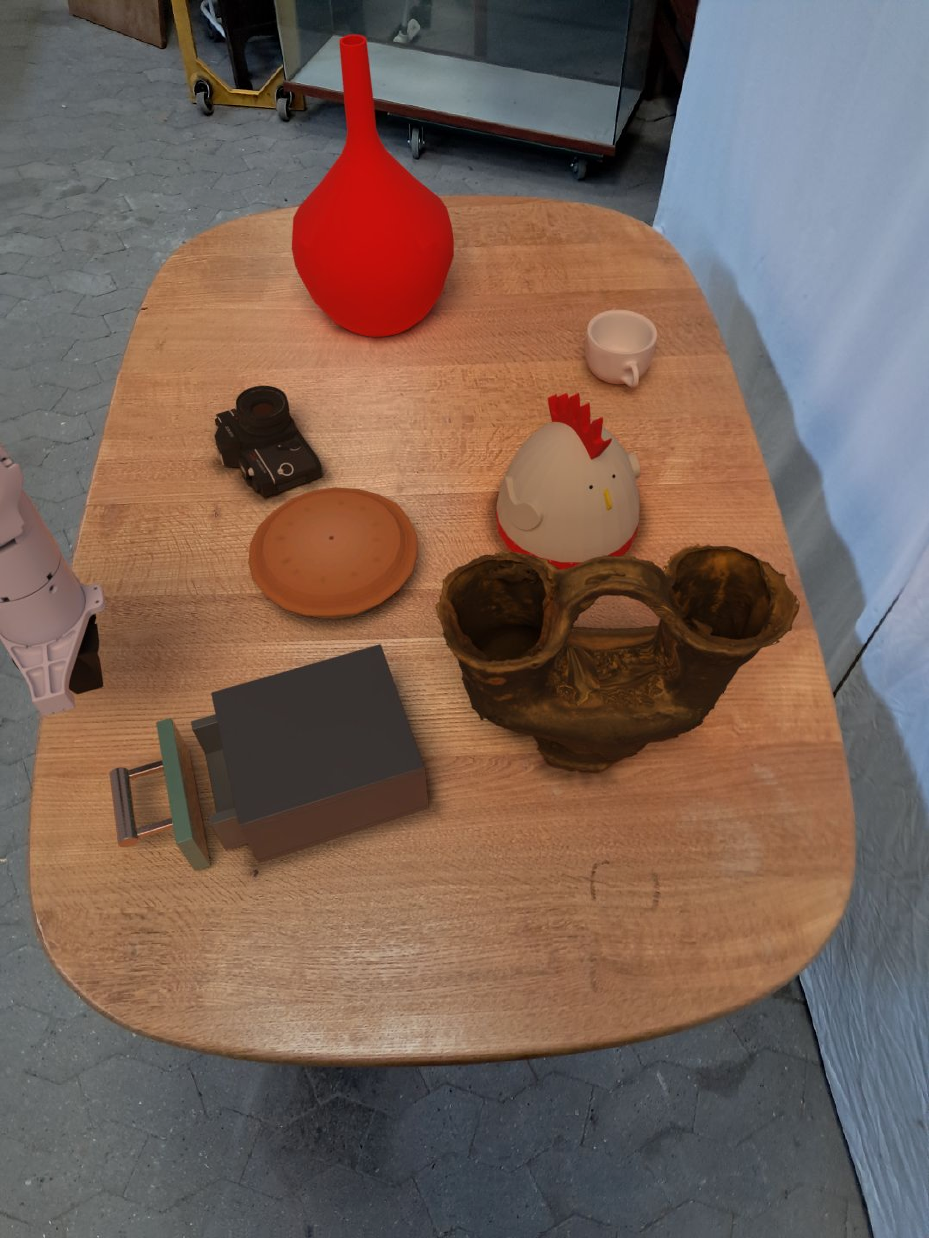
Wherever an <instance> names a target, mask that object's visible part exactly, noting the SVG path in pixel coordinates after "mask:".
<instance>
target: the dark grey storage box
mask: <svg viewBox="0 0 929 1238" xmlns="http://www.w3.org/2000/svg"><path fill="white" fill-rule="evenodd" d="M210 695H211V700H212V705H213V709H214V714H216V719H217V724H218V729H219V734H220V738H221V743H222V748H223V753H224V757H225V762H226V767H227V772H228V776H229V781H230V786H231V791H232V795H233V800H234V805H235V810H236V814H237V819H238V824H239V827H240V829H241V831H242V833H243V835H244V837H245V838H246V840H247V842H248V844H247V845H248V846H249V848H250V850H251V852H252V854H253V856H254V858H255V859H256V862H257V863H258V864H262V863H266V862H268V861H271V860H275V859H278V858H281V857H284V856H287V855H290V854H293V853H296V852H299V851H303V850H306V849H309V848H313V847H314V846H319V845H321V844H324V843H327V842H330V841H333V840H336V839H339V838H342V837H346V836H348V835H349V836H350V835H351V834H356V833H359V832H361V831H364V830H367V829H370V828H373V827H377V826H380V825H382V824H383V825H384V824H386V823H389V822H392V821H395V820H398V819H402V818H405V817H408V816H410V815H413V814H416V813H420V812H422V811H426V810H429V808H430V806H429V797H428V787H427V778H426V777H427V776H426V767H425V764H424V761H423V758H422V756H421V753H420V750H419V748H418V744H417V741H416V739H415V736H414V733H413V731H412V728H411V725H410V722H409V720H408V719H409V718H408V717H407V714H406V711H405V708H404V706H403V703H402V699H401V697H400V694H399V691H398V689H397V686H396V683H395V681H394V677H393V674H392V672H391V669H390V666H389V663H388V660H387V658H386V655H385V652H384V648H383V647H382V644H381V643H378V644H375V645H373V646H369V647H365V648H362V649H358V650H355V651H352V652H348V653H344V654H341V655H337V656H334V657H331V658H330V657H329V658H327V659H324V660H323V659H322V660H320V661H316V662H313V663H309V664H306V665H302V666H298V667H295V668H293V669H289V670H285V671H281V672H277V673H275V674H271V675H267V676H264V677H261V678H257V679H254V680H249V681H246V682H244V683H240V684H235V685H233V686H232V685H231V686H229V687H226V688H225V687H224V688H223V689H219V690H214V691H212V692H211V693H210Z"/></svg>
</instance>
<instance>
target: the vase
mask: <svg viewBox="0 0 929 1238" xmlns="http://www.w3.org/2000/svg"><path fill="white" fill-rule="evenodd" d="M338 44H339V45H338V46H339V55H340V68H341V69H340V70H341V76H342V77H341V79H342V91H343V103H344V113H345V121H346V130H347V132H346V137H345V142H344V143H345V144H344V146H343V149H342V151H341V154H340V155H339V156H338V157H337V159H336V160H335V162H334V163H333V164H332V166H331V167H330V168H329V169H328V171H327V173H326V174H325V175H324V177H323V178H322V180H321V181H320V182H319V183H318V184H317V185H316V187H315V188H314V189H313V190H312V191H311V192H310V194H309V195H308V196H306V198H305V199H304V200H303V202H301V204H299V206H298V208H297V210H296V211H295V213H294V215H293V217H292V233H291V251H292V252H291V253H292V258H293V262H294V263H293V264H294V266H295V269H296V271H297V273H298V276H299V278H300V280H301V281H302V283H303V285H304V287H305V288H306V290H307V292H308V293H309V295H310V297H311V299H312V301H313V302H314V304H315V305H316V306H318V307H319V309H321V310H322V312H323V313H325V314H326V315H327V316H328V317H329V319H331V320H332V322H334V324H337V325H339V326H340V327H342V328H344V329H346V330H348V331H350V332H352V333H354V334H357V335H361V336H364V337H372V338H382V337H390V336H394V335H398V334H401V333H403V332H405V331H407V330H409V329H410V328H413V326H415V325H416V324H417V323H419V322H420V321H422V320H423V319H424V318H425V317H426V316H427V315H428V314H429V312H430V311H431V310H432V308H434V306H435V304H436V303H437V301H438V300H439V298H440V297H441V296H442V293H443V291H444V287H445V285H446V282H447V278H448V275H449V272H450V269H451V265H452V263H453V260H454V257H455V238H454V232H453V225H452V222H451V218H450V214H449V209H448V208H447V206H446V204H445V203H444V201H443V199H441V197H440V196H438V195H437V194H436V193H434V192H433V191H432V190H431V189H430V188H428V187H427V186H426V185H425V184H424V183H422V181H420V180H419V179H418V178H416V177H415V176H414V175H413V174H411V172H410V171H409V170H407V168H405V167H404V166H403V164H401V162H399V160H397V159H396V158H395V157H394V156H393V155H392V154H391V153H390V152H389V151H388V150H387V149H386V147H385V146H384V144H383V142H382V141H381V138H380V135H379V133H378V130H377V123H376V113H375V111H376V110H375V102H374V93H373V92H374V91H373V84H372V75H371V67H370V57H369V49H368V41H367V37H365V36H364V35H361V34H348V35H344V36H342V37H341V38H339V40H338Z"/></svg>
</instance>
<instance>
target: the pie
mask: <svg viewBox="0 0 929 1238" xmlns="http://www.w3.org/2000/svg"><path fill="white" fill-rule="evenodd" d="M418 544H419V543H418V534H417V531H416V530H415V528H414V525H413V523H412V521H411V519H410V518H409V516H408V515H407V514H406V512H405V511H404V509H402V507H401V506H400V505H399V503H397V502H395V501H394V500H391V499H389V498H387V497H385V496H384V495H382V494H379V493H377V492H376V493H375V492H372V491H368V490H364V489H360V488H354V487H353V488H351V487H337V486H334V487H327V488H322V489H321V488H320V489H314V490H310V491H308V492H305V493H303V494H300V495H297V496H294V497H292V498H290V499H288V500H287V501H286V502H284V503H283V504H282V505H280V506H278V507H277V508H276V509H275V510H273V511H272V512H270V514H269V515H267V517H266V518H265V519H263V521H262V522H261V523H260V524H259V525H258V526H257V527H256V530H255V532H254V534H253V537H252V538H251V541H250V542H249V551H248V562H247V563H248V567H249V570H250V575H251V578H252V581H253V582H254V584H255V585H256V586H257V587H258V588H259V590H260V591H261V592H262V593H263V595H264V596H265V597H267V598H268V599H269V600H270V601H272V602H273V603H275V604H276V605H277V606H279V607H280V608H281V609H283V610H286V611H289V612H292V613H296V614H299V615H303V616H305V617H314V618H316V619H322V620H341V619H347V618H353V617H356V616H358V615H361V614H363V613H366V612H368V611H370V610H372V609H373V608H375V607H377V606H379V605H381V604H382V603H383V602H385V601H387V599H388V598H390V597H391V596H393V595H394V594H395V593H397V592H398V591H399V590H400V589H401V588H402V586H404V584H405V583H406V581H407V580H408V579H409V577H410V576H411V575H412V574H413V572H414V569H415V566H416V563H417V559H418V556H419V545H418Z"/></svg>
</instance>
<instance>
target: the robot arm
mask: <svg viewBox="0 0 929 1238" xmlns="http://www.w3.org/2000/svg"><path fill="white" fill-rule="evenodd" d="M106 608H107V601H106V593H105V591H104V589H103V587H102V586H101V584H98V583H95V584H90V585H89V584H88V585H84V584H83V583H82V582H81V581H80V579H79V578H78V576H77V575H76V573H75V572H74V571H73V570H72V568H71V567H70V565H69V564H68V562H67V560H66V558H65V557H64V555H63V553H62V551H61V550H60V547H59V545H58V543H57V541H56V539H55V538H54V536H53V535H52V532H51V530H50V529H49V528H48V527H47V525H46V522H44V519H43V518H42V516H41V514H40V512H39V511H38V509H37V507H36V505H35V503H34V502H33V500H32V498H31V497H30V496H29V494H28V493H27V492H26V491H25V490H24V475H23V470H22V467H21V465H20V464H19V463H17V462H15V463H14V460H13V459H12V457H11V455H10V454H9V452H8V451H7V450H6V449H5V447H4V446H3V445H2V442H0V641H1V642H2V644H3V646H4V647H5V649H6V651H7V653H8V654H9V655H10V657H11V661H12V663H13V664H14V666H15V667H16V668H17V669H18V671H19V672H20V673H21V675H22V676H23V678H24V680H25V681H26V684H27V685H28V688H29V691H30V696H31V702H32V703H33V705H34V706H35V707H36V709H37V710H38V712H39V713H40V714H41V715H42V717H44V718H45V717H49V716H52V715H53V716H54V715H57V714H61V713H64V712H67V711H71V710H74V709H76V699H75V696H74V694H75V695H81V694H84V693H87V692H91V691H94V690H99V689H102V688H103V687H104V677H103V670H102V664H101V659H100V656H99V650H100V635H99V626H98V623H96V621H97V614H100V613H102V612H104V611H105V609H106ZM73 693H74V694H73Z"/></svg>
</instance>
